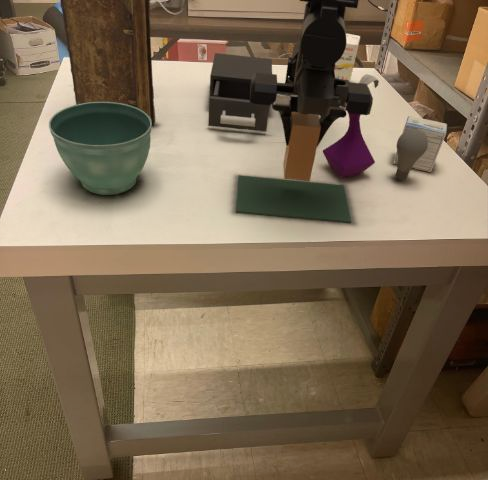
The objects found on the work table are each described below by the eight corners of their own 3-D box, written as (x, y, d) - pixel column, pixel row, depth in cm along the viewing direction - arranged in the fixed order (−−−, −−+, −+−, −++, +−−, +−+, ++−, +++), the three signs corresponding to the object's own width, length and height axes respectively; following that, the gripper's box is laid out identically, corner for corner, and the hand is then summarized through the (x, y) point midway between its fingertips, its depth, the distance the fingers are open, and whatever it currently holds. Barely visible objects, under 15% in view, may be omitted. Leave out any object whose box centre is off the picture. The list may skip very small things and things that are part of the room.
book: (73, 114, 105) (50, -27, 87) (95, 103, 109) (78, -33, 91) (137, 137, 100) (127, -7, 82) (157, 125, 105) (152, -14, 87)
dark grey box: (268, 116, 113) (272, 81, 108) (209, 110, 112) (210, 75, 107) (267, 91, 123) (271, 58, 118) (213, 86, 123) (215, 52, 117)
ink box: (314, 88, 127) (323, 38, 119) (318, 77, 133) (327, 28, 125) (347, 94, 127) (359, 44, 118) (349, 82, 133) (360, 34, 124)
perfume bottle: (340, 184, 94) (365, 86, 81) (318, 165, 99) (339, 70, 86) (371, 177, 97) (399, 82, 84) (348, 160, 101) (372, 66, 89)
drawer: (266, 141, 102) (269, 113, 98) (206, 135, 102) (207, 106, 97) (266, 106, 115) (269, 80, 110) (212, 100, 114) (214, 74, 110)
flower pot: (52, 205, 81) (39, 142, 73) (69, 157, 92) (58, 98, 84) (152, 208, 83) (149, 147, 75) (156, 161, 94) (153, 103, 86)
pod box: (308, 167, 88) (318, 114, 81) (309, 181, 85) (321, 127, 78) (283, 164, 88) (291, 111, 81) (283, 179, 85) (292, 124, 78)
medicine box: (432, 164, 104) (448, 123, 97) (430, 173, 101) (447, 132, 94) (394, 155, 105) (408, 114, 99) (392, 164, 102) (406, 123, 96)
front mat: (343, 187, 94) (343, 185, 93) (350, 223, 85) (351, 221, 85) (238, 177, 93) (238, 175, 92) (235, 212, 84) (236, 210, 84)
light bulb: (414, 189, 95) (433, 139, 88) (385, 183, 96) (402, 134, 89) (413, 175, 99) (431, 127, 92) (386, 170, 100) (401, 121, 93)
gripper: (254, 55, 66) (244, 164, 77) (392, 70, 66) (362, 175, 78) (255, 30, 73) (246, 132, 85) (378, 43, 74) (353, 142, 85)
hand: (301, 145), depth 83 cm, fingers closed on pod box, 4 cm apart
